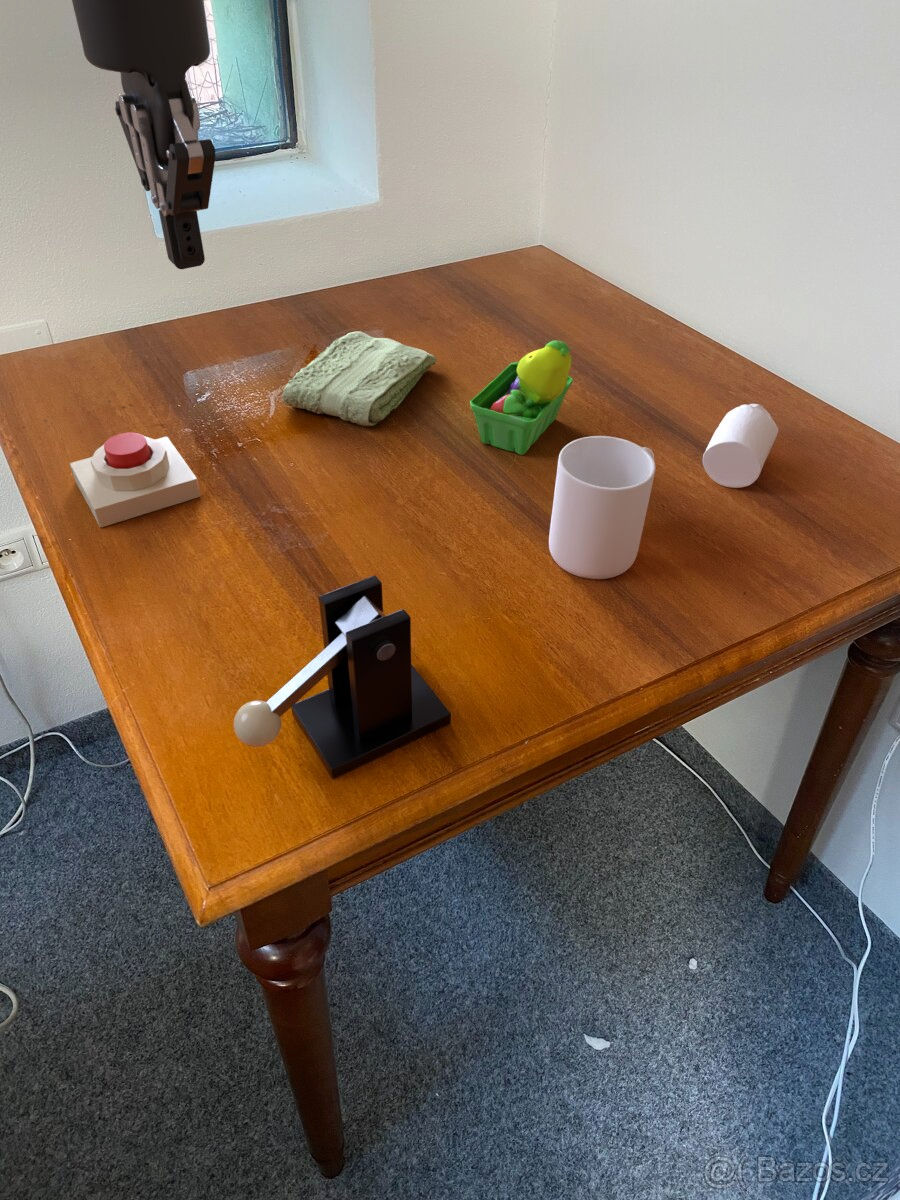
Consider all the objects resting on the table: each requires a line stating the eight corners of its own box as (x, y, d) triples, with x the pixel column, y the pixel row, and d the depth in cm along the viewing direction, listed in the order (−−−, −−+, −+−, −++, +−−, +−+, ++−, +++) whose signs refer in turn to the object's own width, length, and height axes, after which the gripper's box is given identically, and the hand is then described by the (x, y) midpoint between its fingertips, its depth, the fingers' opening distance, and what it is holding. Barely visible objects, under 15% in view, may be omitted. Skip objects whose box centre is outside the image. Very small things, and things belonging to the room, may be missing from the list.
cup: (529, 551, 82) (539, 460, 75) (607, 499, 88) (622, 410, 82) (599, 594, 78) (616, 501, 71) (676, 536, 84) (698, 446, 77)
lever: (263, 762, 60) (234, 747, 58) (245, 731, 62) (217, 715, 60) (402, 635, 60) (380, 615, 58) (380, 608, 62) (357, 587, 60)
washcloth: (441, 366, 108) (441, 342, 106) (375, 436, 96) (374, 410, 94) (347, 345, 112) (346, 321, 110) (273, 409, 100) (270, 384, 98)
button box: (100, 528, 83) (89, 493, 81) (75, 481, 89) (64, 447, 86) (201, 496, 87) (194, 463, 85) (171, 453, 93) (163, 420, 90)
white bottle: (778, 439, 97) (792, 394, 94) (753, 495, 89) (768, 448, 86) (724, 425, 99) (736, 380, 95) (696, 478, 91) (708, 432, 88)
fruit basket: (510, 399, 103) (517, 306, 95) (580, 419, 100) (593, 325, 92) (465, 445, 95) (468, 349, 88) (539, 468, 92) (550, 370, 85)
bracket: (332, 779, 63) (319, 667, 55) (291, 715, 67) (273, 601, 59) (451, 723, 67) (454, 611, 59) (405, 665, 71) (402, 553, 63)
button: (114, 474, 84) (110, 459, 82) (103, 454, 86) (98, 439, 85) (156, 462, 85) (152, 447, 84) (143, 443, 88) (139, 428, 87)
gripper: (38, -44, 53) (108, 243, 65) (100, -11, 45) (167, 310, 57) (159, -50, 57) (205, 225, 68) (236, -20, 48) (273, 287, 60)
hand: (187, 263), depth 63 cm, fingers closed
